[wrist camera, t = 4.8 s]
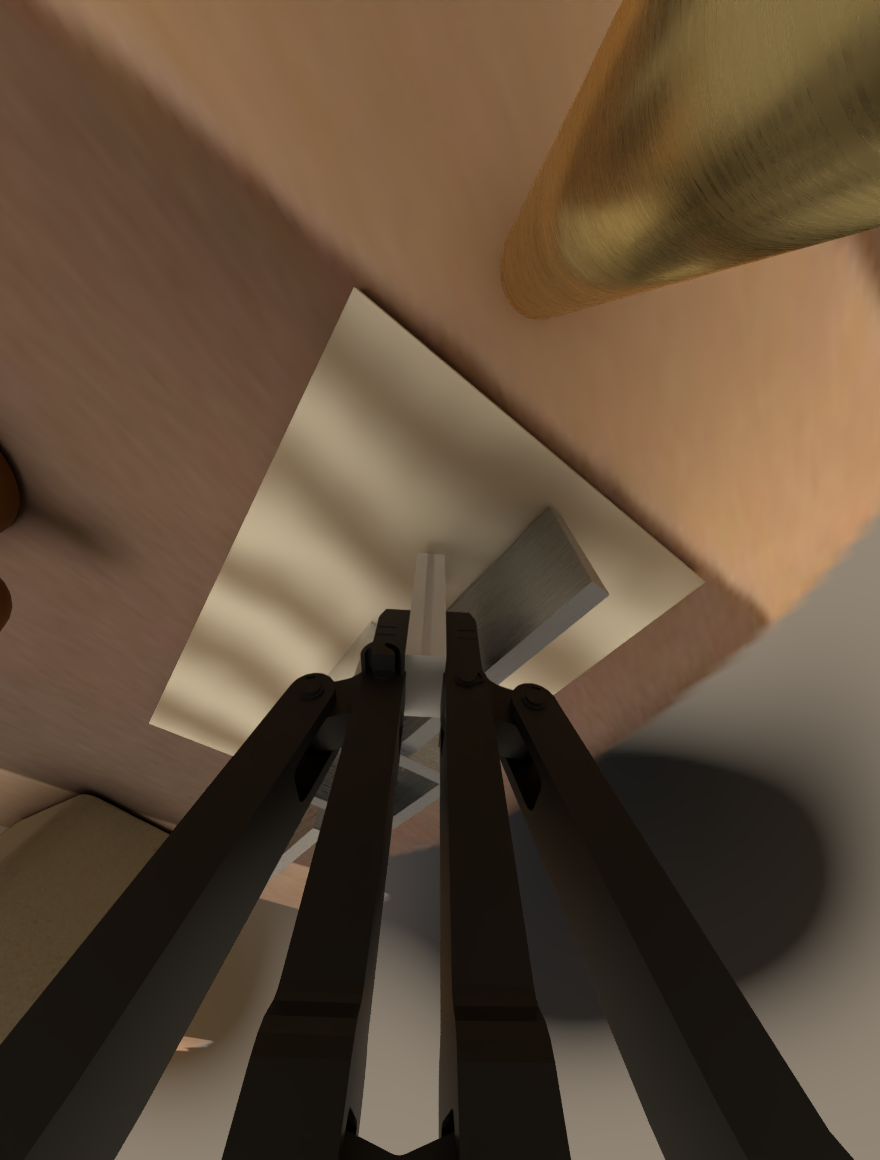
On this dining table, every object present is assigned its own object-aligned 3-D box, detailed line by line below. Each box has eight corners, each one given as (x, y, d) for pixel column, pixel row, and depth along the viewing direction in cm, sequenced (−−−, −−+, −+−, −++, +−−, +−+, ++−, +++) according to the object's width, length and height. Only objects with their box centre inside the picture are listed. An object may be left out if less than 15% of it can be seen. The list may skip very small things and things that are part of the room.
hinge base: (473, 493, 17) (483, 575, 11) (572, 566, 19) (626, 670, 13) (258, 760, 28) (207, 870, 23) (331, 789, 30) (301, 898, 24)
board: (360, 290, 14) (354, 287, 13) (694, 571, 20) (705, 582, 19) (158, 711, 27) (148, 723, 26) (391, 804, 33) (389, 816, 32)
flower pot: (137, 886, 45) (-9, 1134, 31) (-33, 814, 37) (-338, 1108, 23) (246, 853, 39) (128, 1141, 25) (74, 759, 31) (-248, 1109, 17)
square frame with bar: (503, 468, 16) (528, 535, 10) (602, 549, 18) (668, 642, 12) (319, 685, 23) (277, 791, 18) (402, 726, 25) (387, 833, 20)
